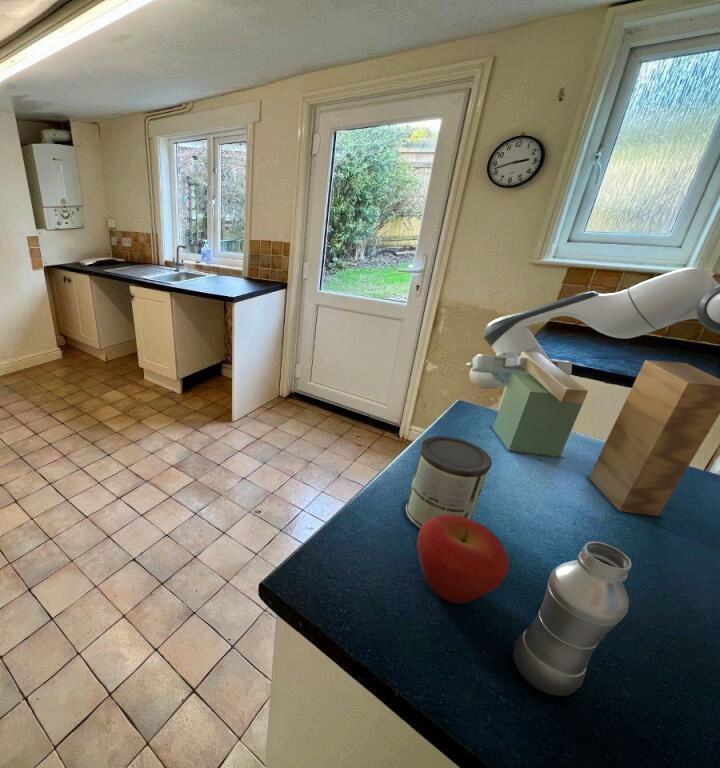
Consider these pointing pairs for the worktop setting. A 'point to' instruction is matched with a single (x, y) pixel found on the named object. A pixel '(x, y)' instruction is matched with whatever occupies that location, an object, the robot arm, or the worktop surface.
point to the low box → (534, 418)
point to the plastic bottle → (573, 619)
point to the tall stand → (656, 435)
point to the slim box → (554, 379)
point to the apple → (460, 558)
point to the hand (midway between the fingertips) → (536, 361)
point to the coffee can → (447, 479)
